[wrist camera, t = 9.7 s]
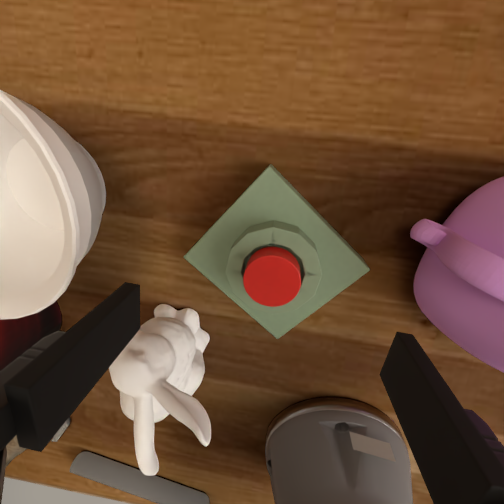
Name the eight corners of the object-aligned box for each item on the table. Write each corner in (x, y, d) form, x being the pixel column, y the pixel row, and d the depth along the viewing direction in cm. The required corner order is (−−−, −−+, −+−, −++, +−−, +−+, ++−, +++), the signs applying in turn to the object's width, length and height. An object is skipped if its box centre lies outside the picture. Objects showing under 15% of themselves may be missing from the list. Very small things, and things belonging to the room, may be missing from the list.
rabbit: (153, 278, 26) (56, 378, 15) (246, 311, 26) (217, 433, 15) (134, 367, 31) (49, 493, 20) (213, 395, 31) (172, 535, 20)
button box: (363, 258, 23) (378, 281, 19) (278, 324, 27) (276, 354, 23) (270, 163, 21) (267, 168, 17) (191, 247, 25) (174, 266, 21)
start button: (311, 272, 20) (313, 283, 19) (272, 303, 22) (271, 316, 20) (273, 235, 19) (271, 243, 18) (235, 270, 21) (231, 280, 19)
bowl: (146, 282, 26) (86, 341, 19) (-9, 251, 27) (-129, 295, 19) (147, 95, 20) (59, 65, 12) (-53, 62, 21) (-255, 14, 13)
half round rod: (80, 447, 38) (70, 461, 36) (213, 494, 38) (209, 510, 37) (77, 464, 39) (68, 478, 38) (204, 510, 40) (201, 525, 38)
